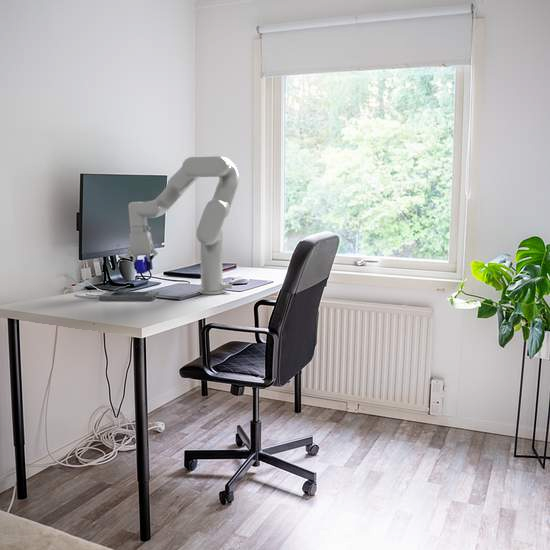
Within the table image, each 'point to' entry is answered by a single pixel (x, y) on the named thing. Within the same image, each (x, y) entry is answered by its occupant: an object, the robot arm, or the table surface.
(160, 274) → the table surface
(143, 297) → the dark grey flat slab
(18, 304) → the table surface
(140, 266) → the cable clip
